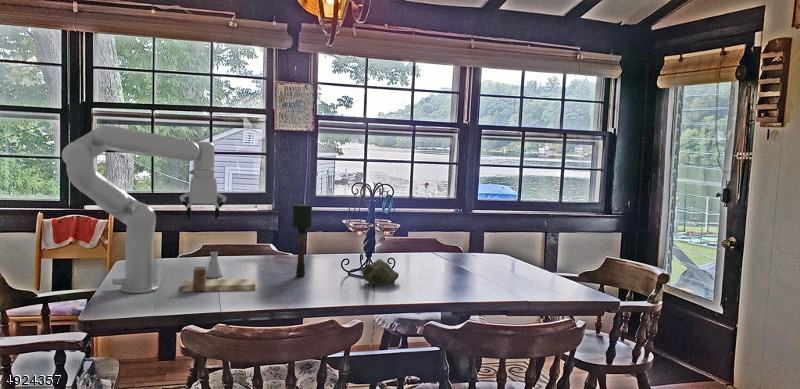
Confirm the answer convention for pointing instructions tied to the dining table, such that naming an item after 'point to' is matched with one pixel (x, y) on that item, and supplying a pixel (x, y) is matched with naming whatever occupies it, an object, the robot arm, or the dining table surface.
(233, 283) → the board
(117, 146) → the robot arm
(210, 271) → the flask
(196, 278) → the brown wooden block
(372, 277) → the decorative rock
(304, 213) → the potato masher grenade
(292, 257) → the dining table surface
